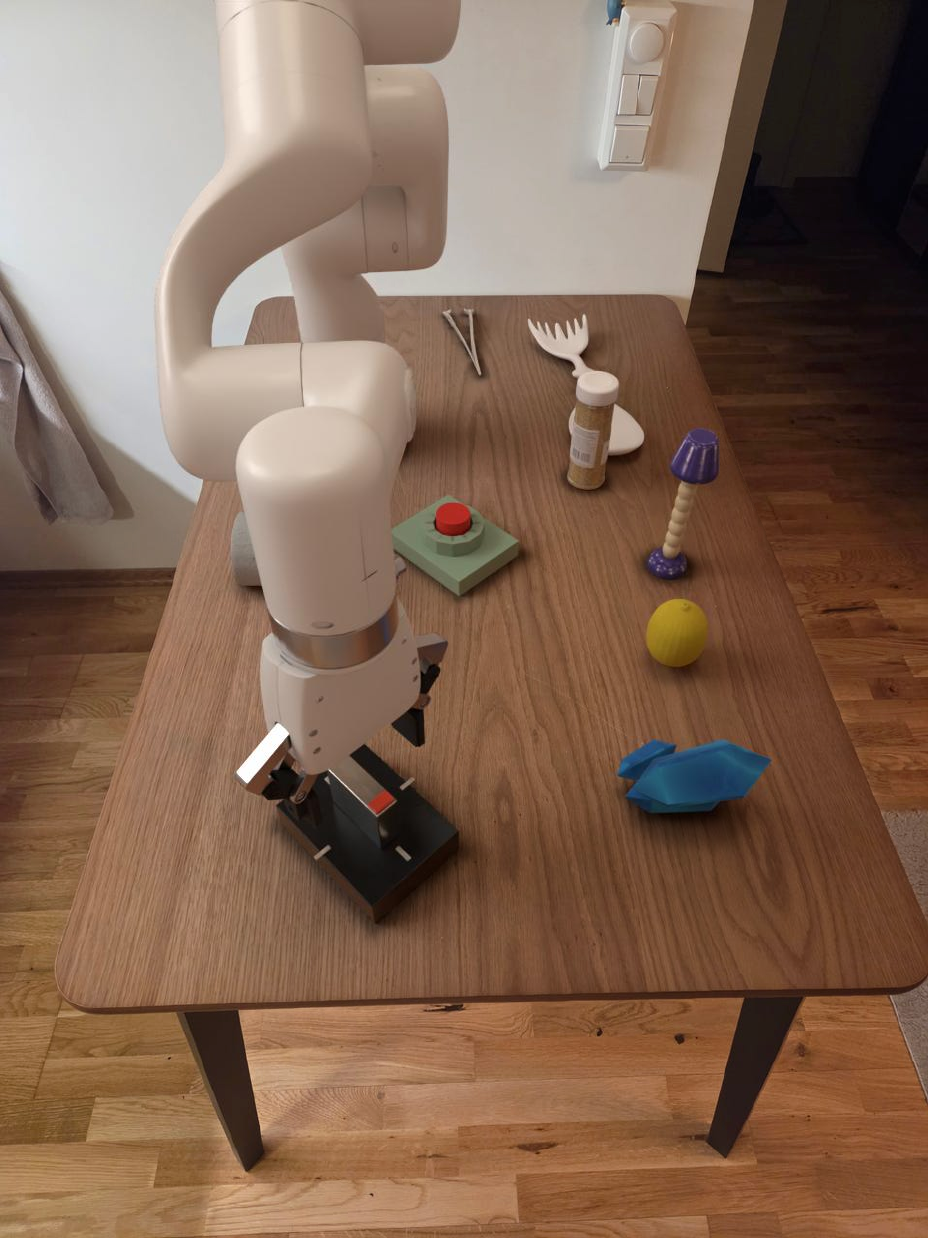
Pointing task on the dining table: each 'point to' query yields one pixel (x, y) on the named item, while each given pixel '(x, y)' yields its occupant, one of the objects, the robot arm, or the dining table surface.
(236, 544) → the grey cylinder
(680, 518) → the toy lamp
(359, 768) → the silver block red tip
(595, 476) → the sprinkles bottle
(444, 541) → the button block
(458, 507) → the red button
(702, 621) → the lemon
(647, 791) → the crystal
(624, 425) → the white salad fork spoon
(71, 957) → the dining table surface
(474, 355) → the tweezers
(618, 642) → the dining table surface
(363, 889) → the knob panel
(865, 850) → the dining table surface
